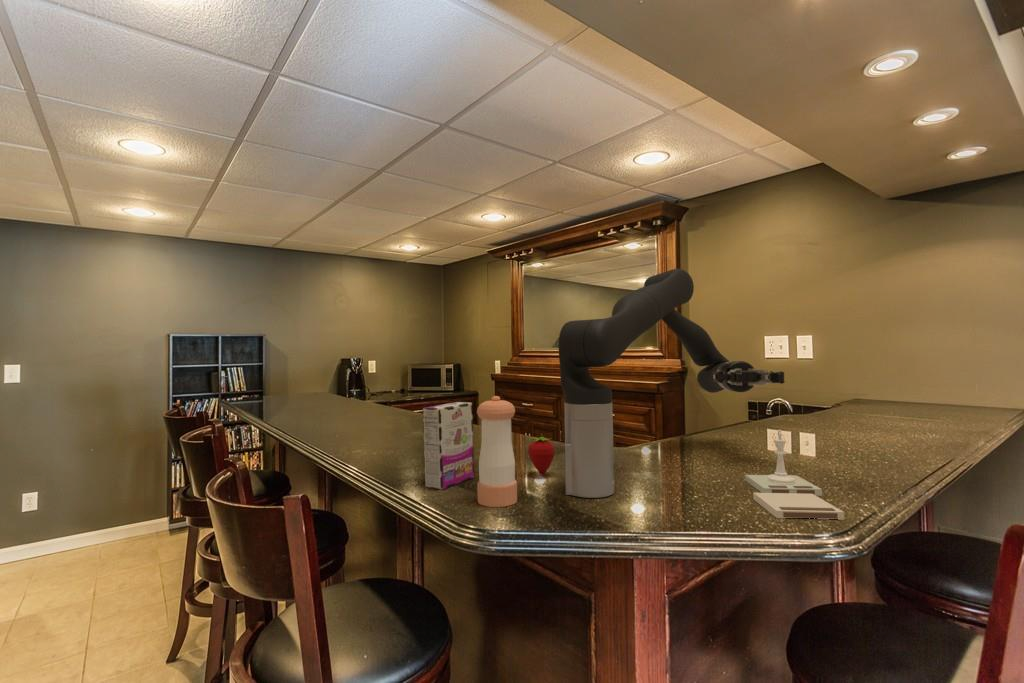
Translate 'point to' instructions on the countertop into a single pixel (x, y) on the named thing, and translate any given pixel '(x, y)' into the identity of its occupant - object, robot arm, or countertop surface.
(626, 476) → the countertop surface
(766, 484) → the tile two
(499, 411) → the pepper shaker
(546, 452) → the strawberry
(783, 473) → the chess piece
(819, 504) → the tile one
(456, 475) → the candy bar box
